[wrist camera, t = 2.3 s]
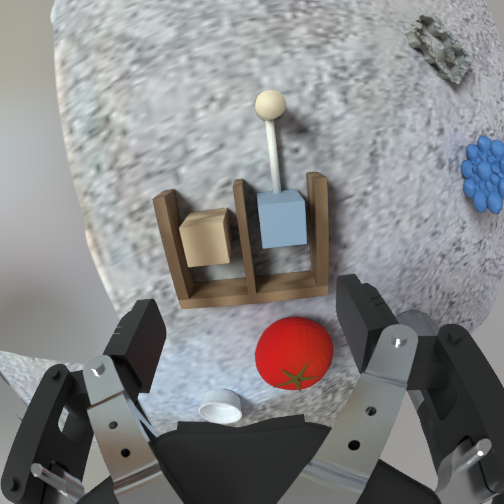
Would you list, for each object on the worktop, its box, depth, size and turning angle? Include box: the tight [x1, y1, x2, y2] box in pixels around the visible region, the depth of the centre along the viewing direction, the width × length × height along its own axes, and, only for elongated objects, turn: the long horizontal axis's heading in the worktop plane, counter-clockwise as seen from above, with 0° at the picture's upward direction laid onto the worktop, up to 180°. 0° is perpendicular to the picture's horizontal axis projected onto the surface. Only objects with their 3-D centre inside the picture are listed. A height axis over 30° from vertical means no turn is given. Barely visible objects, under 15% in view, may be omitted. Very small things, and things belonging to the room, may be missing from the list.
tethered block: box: [255, 90, 307, 249], centre depth 30 cm, size 5×17×6 cm, turn 7°
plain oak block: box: [179, 208, 233, 267], centre depth 34 cm, size 5×5×6 cm
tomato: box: [255, 317, 333, 391], centre depth 39 cm, size 11×12×10 cm
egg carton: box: [404, 12, 474, 85], centre depth 23 cm, size 11×8×4 cm
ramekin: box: [199, 389, 242, 423], centre depth 51 cm, size 9×9×4 cm
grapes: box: [461, 135, 504, 214], centre depth 26 cm, size 12×7×12 cm, turn 167°
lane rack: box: [152, 172, 329, 309], centre depth 35 cm, size 20×16×4 cm
